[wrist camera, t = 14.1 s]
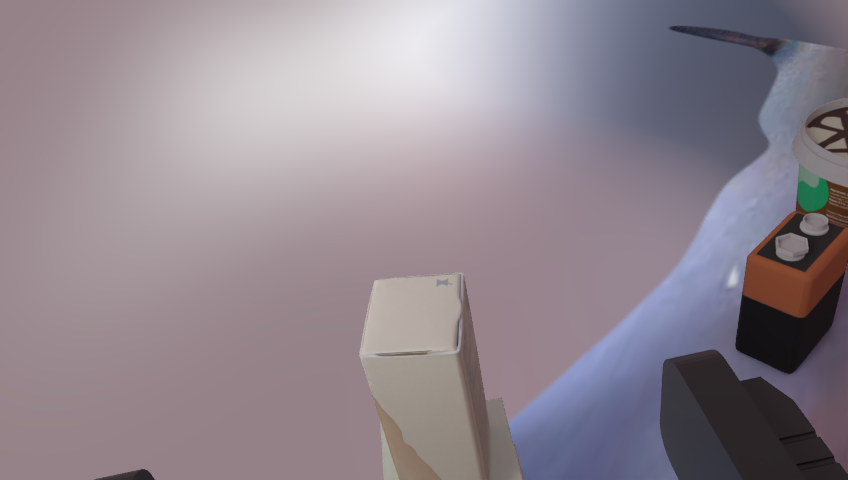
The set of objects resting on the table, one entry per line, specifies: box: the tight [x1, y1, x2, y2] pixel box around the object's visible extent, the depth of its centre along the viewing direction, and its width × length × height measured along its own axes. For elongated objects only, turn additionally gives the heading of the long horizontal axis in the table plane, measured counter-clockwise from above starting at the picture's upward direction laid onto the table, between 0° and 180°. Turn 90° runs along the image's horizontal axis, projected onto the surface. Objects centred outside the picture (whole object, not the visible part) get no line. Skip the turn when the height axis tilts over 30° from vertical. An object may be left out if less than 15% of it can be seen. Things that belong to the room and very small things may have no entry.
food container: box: [792, 98, 848, 227], centre depth 60 cm, size 12×6×10 cm, turn 142°
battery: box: [735, 211, 848, 373], centre depth 50 cm, size 4×7×10 cm, turn 132°
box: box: [359, 273, 490, 480], centre depth 34 cm, size 5×4×11 cm
